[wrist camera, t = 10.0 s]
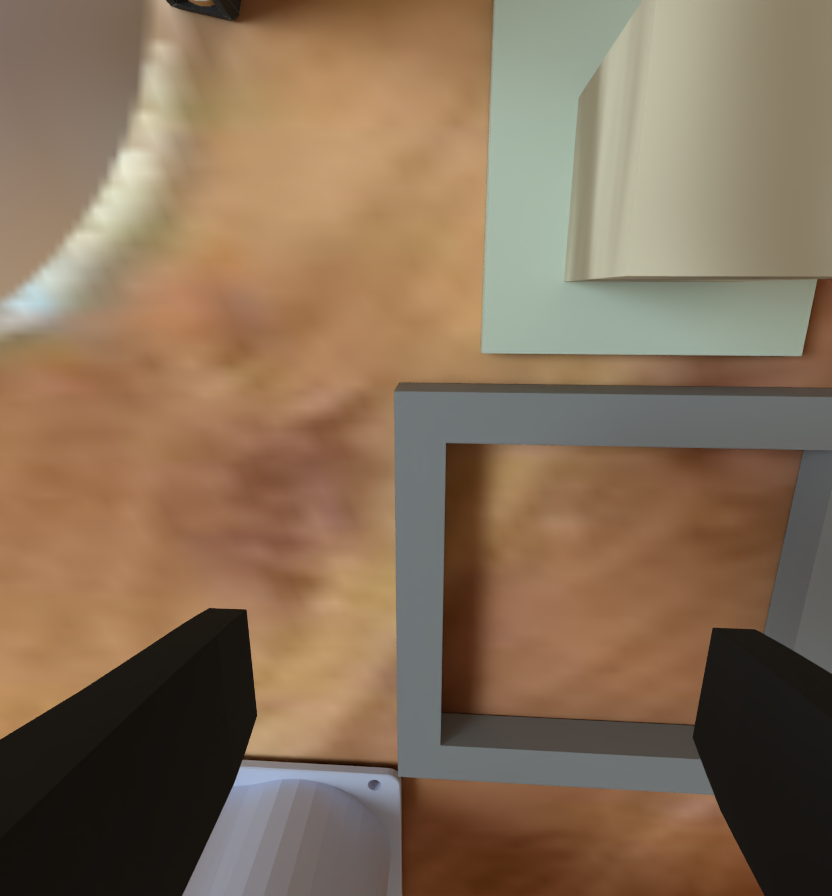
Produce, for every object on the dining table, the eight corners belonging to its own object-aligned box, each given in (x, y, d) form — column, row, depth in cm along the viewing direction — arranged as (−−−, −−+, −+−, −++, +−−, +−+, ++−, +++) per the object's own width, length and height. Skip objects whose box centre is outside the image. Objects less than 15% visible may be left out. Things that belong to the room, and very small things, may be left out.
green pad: (480, 351, 16) (481, 353, 16) (493, -4, 14) (495, -17, 13) (789, 353, 16) (801, 355, 15) (862, -17, 13) (880, -30, 12)
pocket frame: (401, 742, 21) (398, 776, 19) (399, 382, 17) (394, 391, 15) (778, 763, 20) (804, 799, 18) (869, 388, 16) (911, 398, 14)
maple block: (563, 281, 15) (625, 276, 10) (578, 97, 14) (658, -26, 8) (729, 282, 15) (886, 276, 9) (760, 94, 13) (962, -35, 8)
